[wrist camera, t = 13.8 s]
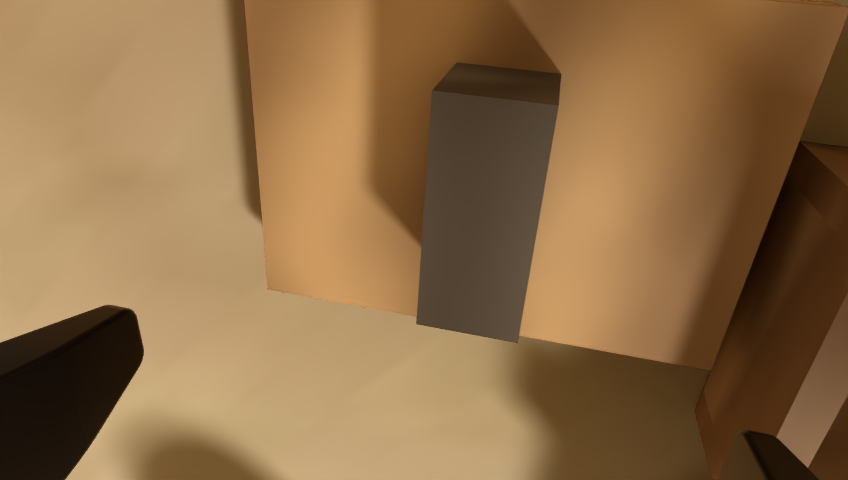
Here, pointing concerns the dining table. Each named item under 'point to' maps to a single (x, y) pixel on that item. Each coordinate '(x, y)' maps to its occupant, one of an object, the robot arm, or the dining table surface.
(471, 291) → the lid
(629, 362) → the dining table surface
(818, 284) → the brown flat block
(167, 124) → the dining table surface
